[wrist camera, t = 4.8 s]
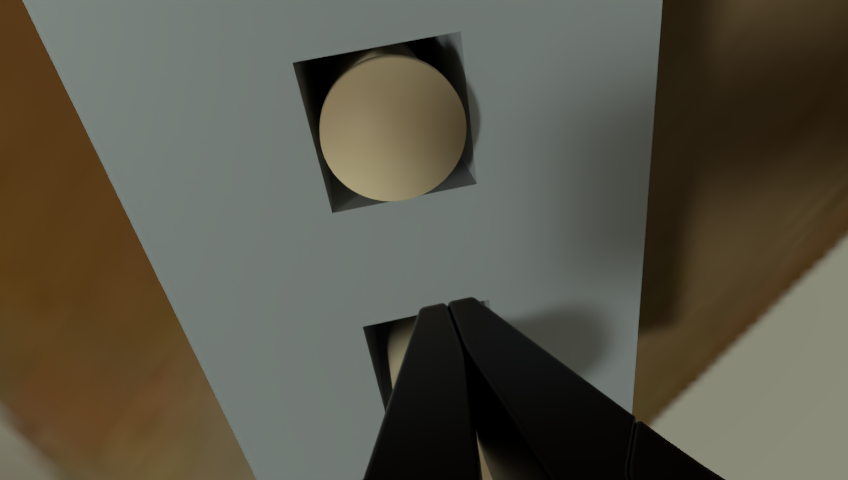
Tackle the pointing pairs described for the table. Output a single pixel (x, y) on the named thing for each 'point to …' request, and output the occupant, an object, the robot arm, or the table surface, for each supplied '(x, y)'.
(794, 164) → the table surface
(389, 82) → the peg
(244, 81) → the board
